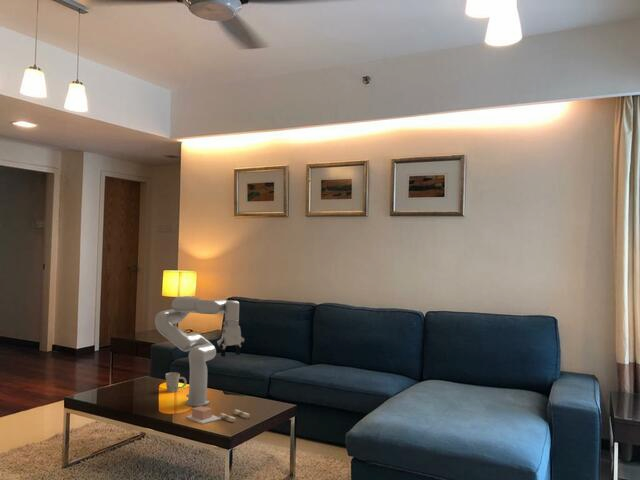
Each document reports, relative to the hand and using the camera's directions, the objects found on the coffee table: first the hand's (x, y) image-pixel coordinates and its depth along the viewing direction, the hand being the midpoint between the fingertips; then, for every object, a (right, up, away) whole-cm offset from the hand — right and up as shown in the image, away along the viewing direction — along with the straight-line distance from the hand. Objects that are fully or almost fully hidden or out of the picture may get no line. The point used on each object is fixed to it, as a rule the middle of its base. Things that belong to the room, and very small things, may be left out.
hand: (230, 355), depth 277 cm
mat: (-10, -27, -20) cm, 35 cm away
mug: (-38, -28, +31) cm, 57 cm away
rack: (+5, -28, -18) cm, 33 cm away
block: (-11, -27, -19) cm, 35 cm away
